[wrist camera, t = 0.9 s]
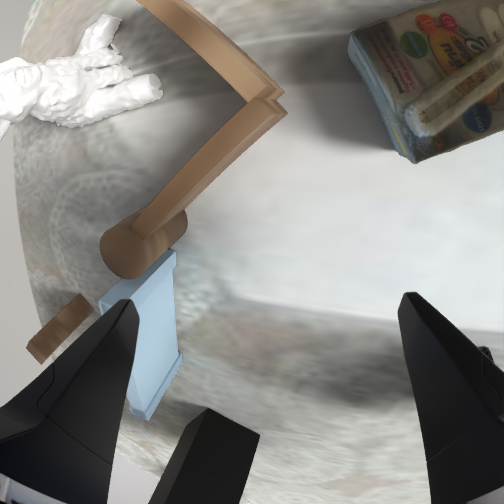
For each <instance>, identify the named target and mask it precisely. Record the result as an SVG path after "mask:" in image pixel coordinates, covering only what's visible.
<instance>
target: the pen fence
mask: <svg viewBox="0 0 504 504" xmlns="http://www.w3.org/2000/svg"><path fill="white" fill-rule="evenodd" d="M136 1H137V2H139V3H140V4H141V5H142V6H144V7H145V8H146V9H147V10H149V11H150V12H151V13H152V14H153V15H155V16H156V17H157V18H158V19H159V20H161V21H162V22H163V23H164V24H165V25H166V26H168V27H169V28H170V29H171V30H172V31H173V32H174V33H176V34H177V35H178V36H179V37H180V38H181V39H182V40H184V41H185V42H186V43H187V44H188V45H189V46H190V47H191V48H192V49H193V50H195V51H196V52H197V53H198V54H199V55H200V56H201V57H202V58H203V59H204V60H205V61H206V62H207V63H208V64H210V65H211V66H212V67H213V68H214V69H215V70H216V71H217V72H218V73H219V74H220V75H221V76H222V77H223V78H224V79H225V80H226V81H227V82H228V83H229V84H230V85H231V86H232V87H233V88H234V89H235V90H236V91H237V92H238V93H239V94H240V95H241V96H242V97H243V98H244V99H245V100H246V101H247V102H248V103H247V104H246V105H245V106H244V107H243V108H242V109H240V110H239V111H238V112H237V113H236V114H235V115H234V116H233V117H232V118H231V119H230V120H229V121H228V122H227V123H226V124H225V125H224V126H223V127H222V128H221V129H220V130H219V131H218V132H217V133H216V134H215V135H214V136H213V137H212V138H211V139H210V140H209V141H208V142H207V143H206V144H205V145H204V146H203V147H202V148H201V149H200V150H199V151H198V152H197V153H196V154H195V155H194V156H193V157H192V158H191V159H190V160H189V161H188V162H187V163H186V164H185V165H184V166H183V167H182V169H181V170H180V171H179V172H178V173H177V174H176V175H175V176H174V177H173V178H172V179H171V180H170V182H169V183H168V184H167V185H166V186H165V187H164V188H163V189H162V190H161V192H160V193H159V194H158V195H157V196H156V197H155V198H154V200H153V201H152V202H151V203H150V204H148V205H147V206H145V207H144V208H142V209H140V210H139V211H137V212H135V213H134V214H132V215H131V216H129V217H128V218H126V219H124V220H123V221H121V222H120V223H118V224H117V225H115V226H114V227H112V228H111V229H109V230H108V231H106V232H105V233H104V234H103V236H102V238H101V241H100V251H101V255H102V258H103V260H104V262H105V264H106V265H107V267H108V268H109V269H110V270H111V271H112V272H113V273H114V274H116V275H117V276H119V277H121V278H123V279H128V280H132V279H136V278H138V277H139V276H140V275H141V274H142V273H143V272H144V271H145V270H146V269H147V268H149V267H150V266H151V265H152V264H153V263H154V262H155V261H156V260H157V259H158V258H159V257H160V256H161V255H162V254H163V253H164V252H165V251H166V250H167V249H168V248H170V247H171V246H172V245H173V244H174V243H175V242H176V241H177V240H178V239H179V238H180V237H181V236H182V235H183V234H184V233H185V231H186V229H187V223H188V221H187V216H186V213H185V211H184V209H185V208H186V207H187V206H188V205H189V204H190V203H191V202H192V201H193V200H194V199H195V198H196V197H197V196H198V195H199V194H200V193H201V192H202V191H203V190H204V189H205V188H206V187H207V186H208V185H209V184H210V183H211V182H212V181H213V180H214V179H215V178H216V177H217V176H219V175H220V174H221V173H222V172H223V171H224V170H225V169H226V168H227V167H228V166H229V165H230V164H231V163H232V162H233V161H235V160H236V159H237V158H238V157H239V156H240V155H241V154H242V153H243V152H244V151H245V150H247V149H248V148H249V147H250V146H251V145H252V144H253V143H254V142H255V141H257V140H258V139H259V138H260V137H261V136H262V135H263V134H264V133H266V132H267V131H268V130H269V129H270V128H271V127H272V126H274V125H275V124H276V123H277V122H278V121H279V120H281V119H282V118H283V117H284V116H285V115H286V114H288V113H287V112H286V110H285V109H284V108H283V107H282V106H281V105H280V104H279V103H278V102H277V101H276V99H277V98H278V97H280V96H281V95H282V94H283V93H284V91H283V90H282V89H281V88H280V87H279V86H278V85H277V84H276V83H275V82H274V81H273V80H272V79H271V78H270V77H269V76H268V75H267V74H266V73H265V72H264V71H263V70H262V69H261V68H260V67H259V66H258V65H257V64H256V63H255V62H254V61H253V60H252V59H251V58H250V57H249V56H248V55H247V54H246V53H245V52H244V51H243V50H241V49H240V48H239V47H238V46H237V45H236V44H235V43H234V42H233V41H232V40H230V39H229V38H228V37H227V36H226V35H225V34H224V33H223V32H221V31H220V30H219V29H218V28H217V27H216V26H215V25H213V24H212V23H211V22H210V21H209V20H207V19H206V18H205V17H204V16H203V15H201V14H200V13H199V12H198V11H196V10H195V9H194V8H193V7H191V6H190V5H189V4H188V3H186V2H185V1H184V0H136ZM93 310H94V308H93V307H92V306H91V305H90V304H89V303H88V302H87V301H86V300H85V299H84V297H83V296H82V295H81V294H79V295H78V296H77V297H76V298H75V299H74V300H73V301H71V302H70V303H69V304H68V305H67V306H66V307H65V308H64V309H63V310H61V311H60V312H59V313H58V314H57V315H56V316H55V317H54V318H53V319H52V320H51V321H50V322H48V323H47V324H46V325H45V326H44V327H43V328H42V329H41V330H40V331H39V332H38V333H37V334H36V335H35V336H34V337H33V338H32V339H31V340H30V341H29V343H28V345H27V347H26V349H27V350H28V351H29V352H30V353H31V354H32V355H33V356H34V358H35V359H36V360H37V361H38V362H39V363H40V364H41V365H42V364H43V363H44V361H45V360H46V359H47V358H48V357H49V356H50V355H51V354H52V353H53V352H54V351H55V350H56V349H57V348H58V347H59V346H60V345H61V344H62V342H63V341H64V340H65V339H66V338H67V337H68V336H69V335H70V334H71V333H72V332H73V331H74V330H75V329H76V328H77V327H78V326H79V325H80V324H81V323H82V322H83V321H84V320H85V319H86V318H87V317H88V316H89V315H90V313H91V312H92V311H93Z"/></svg>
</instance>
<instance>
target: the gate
mask: <svg viewBox="0 0 504 504" xmlns="http://www.w3.org/2000/svg"><path fill="white" fill-rule="evenodd" d="M175 267H176V251H173V250H168V249H167V250H166V251H165V252H164V253H163V254H162V255H161V256H160V257H159V258H158V259H157V260H156V261H155V262H154V263H153V264H152V265H151V266H150V267H149V268H147V269H146V270H145V271H144V272H143V273H142V274H141V275H140V276H139V277H138V278H136V279H132V280H128V279H123V278H122V279H121V280H120V281H119V282H118V283H116V284H115V285H114V286H113V287H112V288H111V289H110V290H109V291H108V292H107V293H106V294H105V295H104V296H103V297H102V298H101V299H100V300H99V301H98V303H99V308H100V312H101V316H102V315H103V314H104V313H105V312H106V311H108V310H109V309H110V308H111V307H112V306H113V305H114V304H115V303H116V302H117V301H119V300H120V299H131V300H132V301H133V302H134V304H135V307H136V309H137V311H138V314H139V317H140V324H139V330H138V337H137V344H136V352H135V358H134V363H133V368H132V372H131V376H130V380H129V385H128V389H127V393H126V395H127V398H128V401H129V404H130V405H129V408H130V411H131V413H132V414H133V415H135V416H138V417H140V418H142V419H145V420H147V421H149V420H150V418H151V416H152V414H153V413H154V411H155V409H156V408H157V406H158V404H159V402H160V401H161V399H162V397H163V395H164V394H165V392H166V390H167V388H168V387H169V385H170V383H171V382H172V380H173V378H174V376H175V375H176V373H177V371H178V369H179V368H180V366H181V364H182V363H183V360H182V353H179V352H178V345H177V334H176V322H175V309H174V295H173V278H172V270H173V269H174V268H175Z"/></svg>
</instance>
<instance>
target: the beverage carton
mask: <svg viewBox="0 0 504 504" xmlns="http://www.w3.org/2000/svg"><path fill="white" fill-rule="evenodd" d="M347 52H348V56H349V58H350V60H351V62H352V63H353V65H354V66H355V68H356V69H357V71H358V73H359V74H360V76H361V78H362V80H363V81H364V83H365V85H366V87H367V90H368V91H369V93H370V95H371V97H372V99H373V101H374V103H375V105H376V107H377V109H378V112H379V114H380V116H381V118H382V120H383V122H384V124H385V127H386V129H387V132H388V135H389V137H390V139H391V141H392V143H393V145H394V147H395V150H396V152H398V153H399V155H401V156H403V157H406V158H408V159H409V160H410V161H411V163H413V164H417V163H419V162H421V161H423V160H426V159H428V158H431V157H434V156H436V155H439V154H442V153H446V152H450V151H453V150H455V149H457V148H458V147H460V146H463V145H466V144H469V143H472V142H474V141H477V140H480V139H483V138H485V137H487V136H490V135H492V134H494V133H497V132H500V131H503V130H504V0H443V1H439V2H435V3H432V4H428V5H425V6H422V7H419V8H415V9H412V10H409V11H407V12H404V13H401V14H399V15H398V16H396V17H392V18H387V19H381V20H379V21H377V22H376V23H373V24H370V25H367V26H363V27H360V28H358V29H357V30H355V31H353V32H351V33H350V41H349V42H348V46H347Z"/></svg>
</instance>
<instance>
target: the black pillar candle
mask: <svg viewBox="0 0 504 504" xmlns="http://www.w3.org/2000/svg"><path fill="white" fill-rule="evenodd" d="M259 438H260V435H258V434H256V433H254V432H252V431H250V430H248V429H246V428H244V427H242V426H240V425H238V424H236V423H234V422H233V421H231V420H229V419H227V418H225V417H223V416H221V415H219V414H218V413H216V412H214V411H212V410H210V409H209V408H208V409H206V410H205V411H204V412H203V413H202V414H200V415H199V416H198V417H197V418H196V419H194V420H193V421H192V422H191V423H189V424H188V425H187V426H186V427H185V429H184V431H183V434H182V436H181V438H180V440H179V442H178V444H177V446H176V448H175V450H174V452H173V454H172V456H171V458H170V460H169V462H168V464H167V467H166V469H165V471H164V473H163V475H162V477H161V479H160V481H159V483H158V485H157V487H156V489H155V491H154V493H153V495H152V497H151V499H150V501H149V503H148V504H239V503H240V500H241V497H242V494H243V491H244V487H245V484H246V481H247V478H248V475H249V471H250V468H251V465H252V462H253V458H254V455H255V452H256V448H257V445H258V442H259Z"/></svg>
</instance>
